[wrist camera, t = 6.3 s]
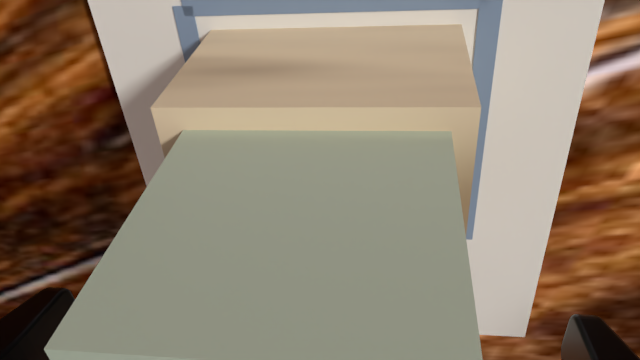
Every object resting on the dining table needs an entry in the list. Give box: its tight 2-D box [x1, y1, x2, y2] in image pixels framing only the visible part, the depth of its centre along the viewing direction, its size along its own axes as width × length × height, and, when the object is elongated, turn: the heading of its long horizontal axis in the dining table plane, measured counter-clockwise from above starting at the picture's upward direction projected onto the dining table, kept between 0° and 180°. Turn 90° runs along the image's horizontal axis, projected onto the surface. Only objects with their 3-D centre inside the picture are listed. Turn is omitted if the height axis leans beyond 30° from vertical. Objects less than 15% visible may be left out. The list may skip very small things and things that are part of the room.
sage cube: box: [44, 130, 483, 360], centre depth 9 cm, size 5×5×5 cm
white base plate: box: [88, 0, 605, 337], centre depth 15 cm, size 16×12×1 cm
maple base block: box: [151, 24, 481, 235], centre depth 13 cm, size 6×6×4 cm
